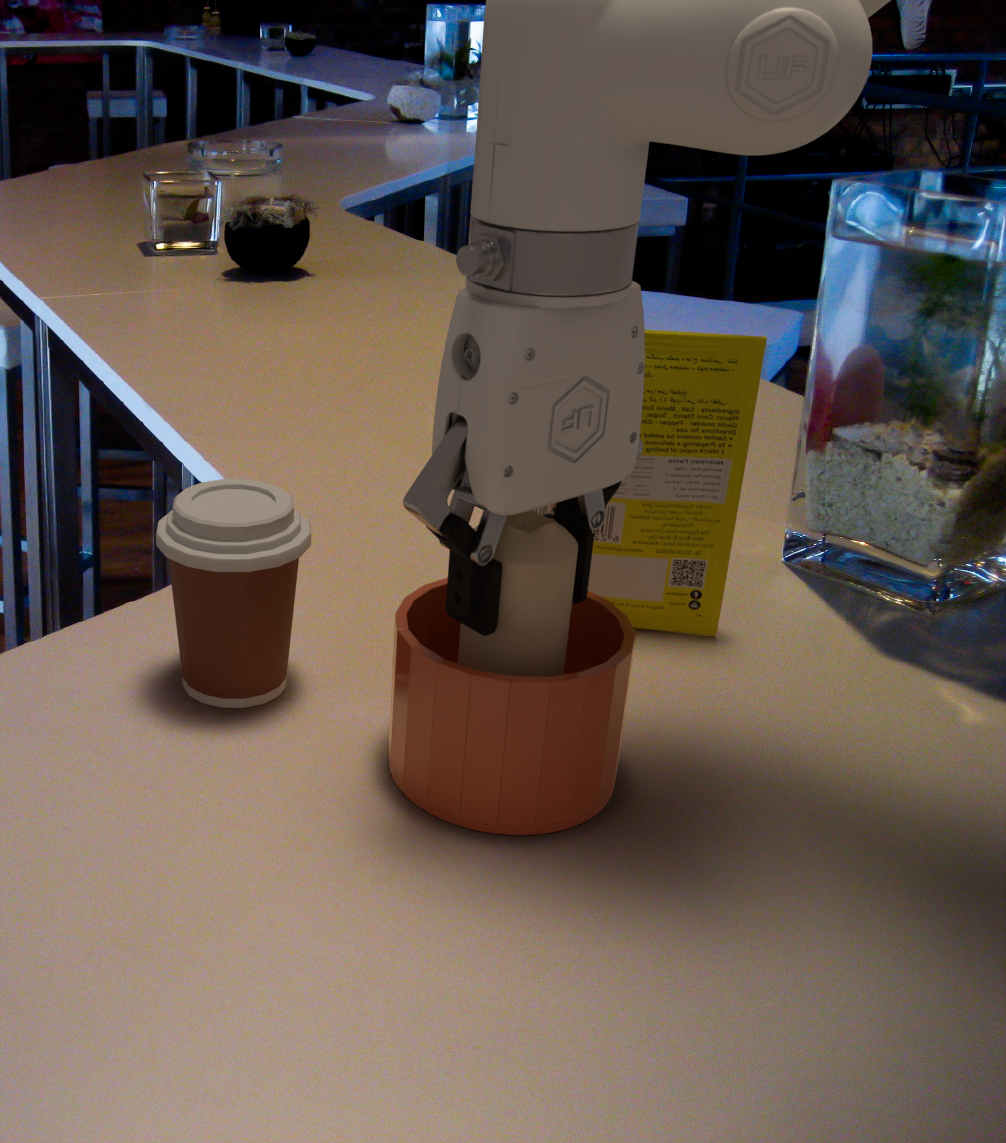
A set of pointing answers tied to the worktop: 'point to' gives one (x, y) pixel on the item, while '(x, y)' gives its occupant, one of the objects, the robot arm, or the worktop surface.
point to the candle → (528, 601)
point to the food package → (681, 483)
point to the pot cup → (507, 722)
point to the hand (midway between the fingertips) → (516, 605)
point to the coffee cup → (234, 587)
